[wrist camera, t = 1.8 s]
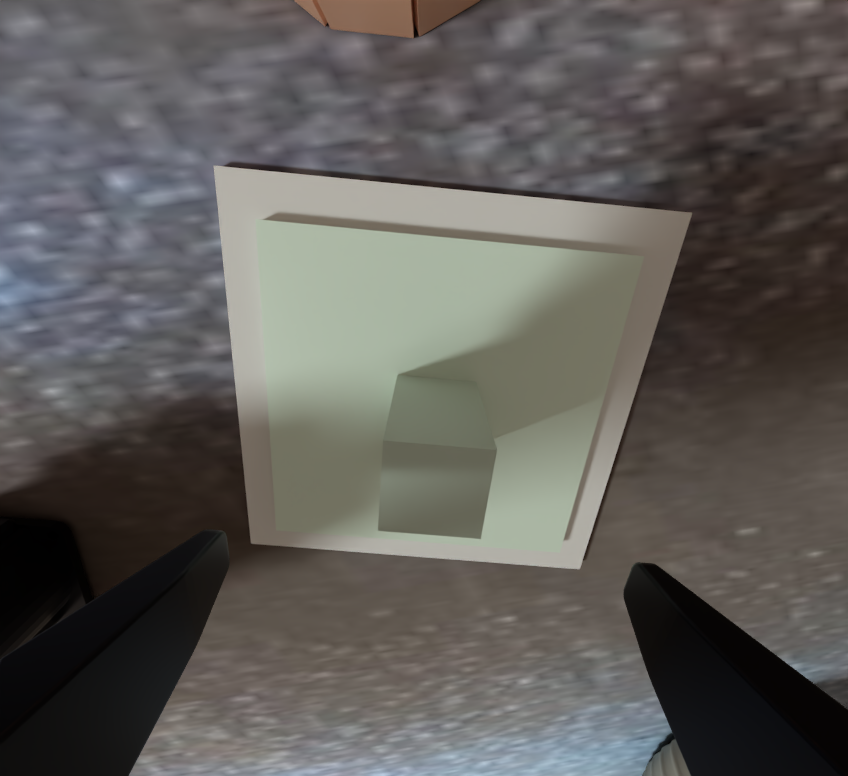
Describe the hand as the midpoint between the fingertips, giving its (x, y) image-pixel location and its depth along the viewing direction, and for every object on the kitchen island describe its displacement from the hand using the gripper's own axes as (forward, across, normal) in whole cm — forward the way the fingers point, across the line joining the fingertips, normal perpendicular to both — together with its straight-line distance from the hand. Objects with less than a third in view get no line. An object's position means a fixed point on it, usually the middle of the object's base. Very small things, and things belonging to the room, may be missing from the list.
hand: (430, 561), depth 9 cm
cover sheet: (+8, 0, 0) cm, 8 cm away
